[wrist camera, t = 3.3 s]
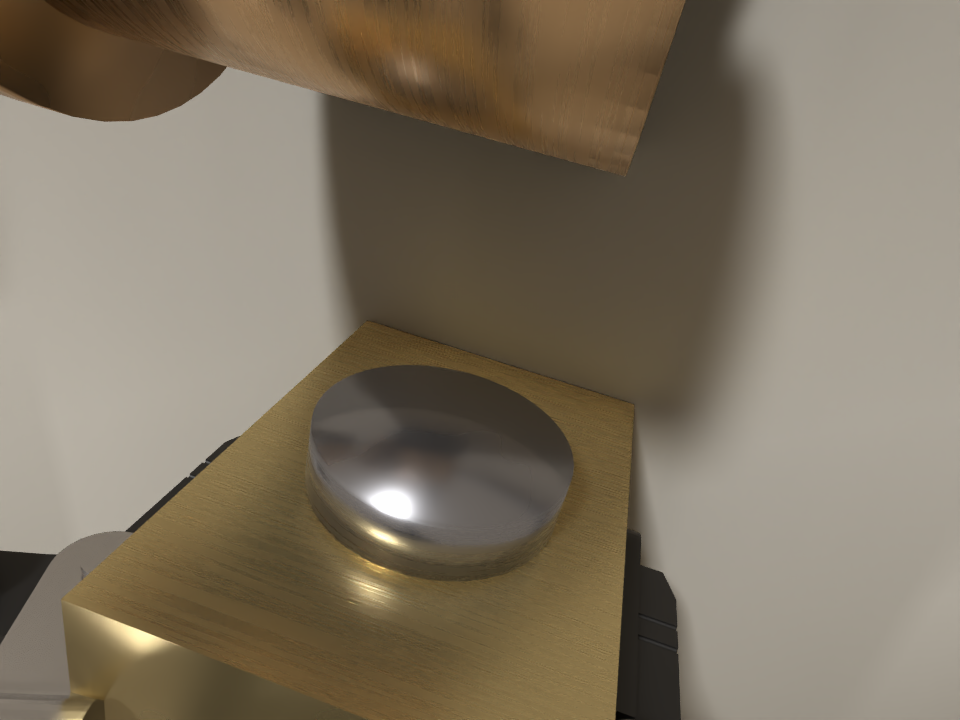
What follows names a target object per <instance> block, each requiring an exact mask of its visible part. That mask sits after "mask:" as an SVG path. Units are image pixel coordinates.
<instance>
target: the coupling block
mask: <svg viewBox="0 0 960 720" xmlns="http://www.w3.org/2000/svg"><path fill="white" fill-rule="evenodd" d="M633 418H634V404H631V403H628V402H625V401H621V400H618V399H615V398H612V397H609V396H606V395H602V394H599V393H596V392H593V391H590V390H587V389H583V388H580V387H577V386H574V385H571V384H567V383H564V382H561V381H558V380H555V379H552V378H548V377H545V376H542V375H539V374H536V373H533V372H529V371H526V370H523V369H520V368H517V367H514V366H510V365H507V364H504V363H501V362H498V361H495V360H491V359H488V358H485V357H482V356H479V355H476V354H472V353H469V352H466V351H463V350H460V349H457V348H453V347H450V346H447V345H444V344H441V343H438V342H434V341H431V340H428V339H425V338H422V337H419V336H415V335H412V334H409V333H406V332H403V331H399V330H396V329H393V328H390V327H387V326H384V325H380V324H377V323H374V322H371V321H366V322H365V323H364V324H363V325H362V326H361V327H360V328H359V329H358V330H357V331H355V332H354V333H353V334H352V335H351V336H350V337H349V338H348V339H347V340H346V341H344V342H343V343H342V344H341V345H340V346H339V347H338V348H337V349H336V350H335V351H333V352H332V353H331V354H330V355H329V356H328V357H327V358H326V359H325V360H324V361H322V362H321V363H320V364H319V365H318V366H317V367H316V368H315V369H314V370H313V371H311V372H310V373H309V374H308V375H307V376H306V377H305V378H304V379H303V380H302V381H300V382H299V383H298V384H297V385H296V386H295V387H294V388H293V389H292V390H291V391H289V392H288V393H287V394H286V395H285V396H284V397H283V398H282V399H281V400H280V401H278V402H277V403H276V404H275V405H274V406H273V407H272V408H271V409H270V410H269V411H267V412H266V413H265V414H264V415H263V416H262V417H261V418H260V419H259V420H258V421H256V422H255V423H254V424H253V425H252V426H251V427H250V428H249V429H248V430H247V431H245V432H244V433H243V434H242V435H241V436H240V437H239V438H238V439H237V440H236V441H234V442H233V443H232V444H231V445H230V446H229V447H228V448H227V449H226V450H225V451H223V452H222V453H221V454H220V455H219V456H218V457H217V458H216V459H215V460H214V461H212V462H211V463H210V464H209V465H208V466H207V467H206V468H205V469H204V470H203V471H201V472H200V473H199V474H198V475H197V476H196V477H195V478H194V479H193V480H192V481H190V482H189V483H188V484H187V485H186V486H185V487H184V488H183V489H182V490H181V491H179V492H178V493H177V494H176V495H175V496H174V497H173V498H172V499H171V500H170V501H168V502H167V503H166V504H165V505H164V506H163V507H162V508H161V509H160V510H159V511H157V512H156V513H155V514H154V515H153V516H152V517H151V518H150V519H149V520H148V521H146V522H145V523H144V524H143V525H142V526H141V527H140V528H139V529H138V530H137V531H135V532H134V533H133V534H132V535H131V536H130V537H129V538H128V539H127V540H126V541H124V542H123V543H122V544H121V545H120V546H119V547H118V548H117V549H116V550H115V551H113V552H112V553H111V554H110V555H109V556H108V557H107V558H106V559H105V560H104V561H102V562H101V563H100V564H99V565H98V566H97V567H96V568H95V569H94V570H93V571H91V572H90V573H89V574H88V575H87V576H86V577H85V578H84V579H83V580H82V581H80V582H79V583H78V584H77V585H76V586H75V587H74V588H73V589H72V590H71V591H69V592H68V593H67V594H66V595H65V596H64V597H63V598H62V599H61V604H62V614H63V624H64V633H65V643H66V652H67V662H68V672H69V681H70V691H71V692H73V693H76V694H79V695H82V696H86V697H90V698H94V699H100V700H104V707H105V720H615V715H616V698H617V682H618V665H619V649H620V632H621V616H622V599H623V583H624V566H625V550H626V533H627V517H628V501H629V484H630V468H631V451H632V435H633Z"/></svg>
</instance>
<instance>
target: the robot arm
mask: <svg viewBox="0 0 960 720" xmlns="http://www.w3.org/2000/svg"><path fill="white" fill-rule="evenodd" d="M239 437H240V436H239ZM239 437H236V438H234V439H231V440H229V441H227V442H225V443H224V444H223V445H222V446H220V447H219V448H218V449H217V450H216V451H215V452H214V453H213V454H211V455H210V456H209V457H208V458H207V459H206V462H205V463H201V464H200V465H199V466H198V467H197V468H196V469H195V470H194V471H192V472H191V473H190V476H189V477H188V478H187V477H186V478H185V479H183V480H182V481H181V482H180V483H179V484H178V485H177V486H176V487H174V488H173V489H172V490H171V491H170V492H169V493H168V494H167V495H166V496H164V497H163V498H162V499H161V500H160V501H159V502H158V503H157V504H155V505H154V506H153V507H152V508H151V509H150V510H149V511H148V512H146V513H145V514H144V515H143V516H142V517H141V518H140V519H139V520H138V521H136V522H135V523H134V524H133V525H132V526H131V527H130V528H129V529H127V530H126V531H125V532H122V531H113V532H104V533H99V534H94V535H91V536H88V537H85V538H82V539H80V540H78V541H76V542H74V543H72V544H70V545H69V546H67V547H66V548H64V549H63V550H62V551H61V552H59V553H58V554H57V555H53V554H36V553H23V552H11V551H0V720H105V707H104V700H100V699H94V698H90V697H86V696H82V695H79V694H76V693H73V692H71V691H70V681H69V672H68V662H67V652H66V643H65V633H64V624H63V614H62V604H61V599H62V598H63V597H64V596H65V595H66V594H67V593H68V592H69V591H71V590H72V589H73V588H74V587H75V586H76V585H77V584H78V583H79V582H80V581H82V580H83V579H84V578H85V577H86V576H87V575H88V574H89V573H90V572H91V571H93V570H94V569H95V568H96V567H97V566H98V565H99V564H100V563H101V562H102V561H104V560H105V559H106V558H107V557H108V556H109V555H110V554H111V553H112V552H113V551H115V550H116V549H117V548H118V547H119V546H120V545H121V544H122V543H123V542H124V541H126V540H127V539H128V538H129V537H130V536H131V535H132V534H133V533H134V532H135V531H137V530H138V529H139V528H140V527H141V526H142V525H143V524H144V523H145V522H146V521H148V520H149V519H150V518H151V517H152V516H153V515H154V514H155V513H156V512H157V511H159V510H160V509H161V508H162V507H163V506H164V505H165V504H166V503H167V502H168V501H170V500H171V499H172V498H173V497H174V496H175V495H176V494H177V493H178V492H179V491H181V490H182V489H183V488H184V487H185V486H186V485H187V484H188V483H189V482H190V481H192V480H193V479H194V478H195V477H196V476H197V475H198V474H199V473H200V472H201V471H203V470H204V469H205V468H206V467H207V466H208V465H209V464H210V463H211V462H212V461H214V460H215V459H216V458H217V457H218V456H219V455H220V454H221V453H222V452H223V451H225V450H226V449H227V448H228V447H229V446H230V445H231V444H232V443H233V442H234V441H236V440H237V439H238V438H239ZM640 551H641V535H640V533H639V532H636V531H633V530H630V529H627V533H626V550H625V566H624V583H623V599H622V616H621V632H620V649H619V665H618V682H617V698H616V715H615V720H681V715H680V689H679V663H678V654H677V649H678V637H677V631H676V628H677V611H676V599H675V597H674V595H673V592H672V590H671V588H670V586H669V584H668V582H667V580H666V578H665V576H664V574H663V573H662V572H659V571H656V570H653V569H650V568H648V567H645V566H642V565H640Z"/></svg>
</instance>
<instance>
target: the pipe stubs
mask: <svg viewBox="0 0 960 720" xmlns="http://www.w3.org/2000/svg"><path fill="white" fill-rule="evenodd" d="M685 1H686V0H0V94H1V95H4V96H7V97H10V98H13V99H16V100H19V101H22V102H25V103H29V104H32V105H36V106H39V107H42V108H46V109H49V110H53V111H56V112H59V113H63V114H66V115H70V116H73V117H79V118H85V119H92V120H98V121H104V122H108V121H134V120H139V119H144V118H148V117H153V116H158V115H160V114H162V113H165V112H167V111H170V110H172V109H174V108H177V107H179V106H181V105H183V104H184V103H186V102H187V101H189V100H190V99H192V98H193V97H195V96H197V95H198V94H200V93H201V92H202V91H203V90H204V89H206V88H207V87H208V86H209V85H210V84H211V83H212V82H213V81H214V80H215V79H217V78H218V77H219V76H220V75H221V73H222V72H223V71H224V70H225V69H226V67H231V68H234V69H238V70H241V71H245V72H249V73H252V74H256V75H260V76H263V77H267V78H270V79H274V80H278V81H281V82H285V83H288V84H292V85H296V86H299V87H303V88H307V89H310V90H314V91H317V92H321V93H325V94H328V95H332V96H336V97H339V98H343V99H346V100H350V101H354V102H357V103H361V104H365V105H368V106H372V107H375V108H379V109H383V110H386V111H390V112H394V113H397V114H401V115H404V116H408V117H412V118H415V119H419V120H422V121H426V122H430V123H433V124H437V125H441V126H444V127H448V128H451V129H455V130H459V131H462V132H466V133H470V134H473V135H477V136H480V137H484V138H488V139H491V140H495V141H499V142H502V143H506V144H509V145H513V146H517V147H520V148H524V149H527V150H531V151H535V152H538V153H542V154H546V155H549V156H553V157H556V158H560V159H564V160H567V161H571V162H575V163H578V164H582V165H585V166H589V167H593V168H596V169H600V170H604V171H607V172H611V173H614V174H618V175H622V176H625V177H626V175H627V172H628V170H629V167H630V164H631V161H632V158H633V156H634V153H635V150H636V147H637V144H638V141H639V138H640V135H641V132H642V130H643V127H644V124H645V121H646V118H647V115H648V112H649V109H650V106H651V103H652V100H653V97H654V94H655V91H656V88H657V85H658V82H659V79H660V76H661V73H662V70H663V67H664V64H665V61H666V58H667V55H668V52H669V49H670V46H671V43H672V40H673V37H674V34H675V31H676V28H677V25H678V22H679V19H680V16H681V13H682V10H683V7H684V4H685Z"/></svg>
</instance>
